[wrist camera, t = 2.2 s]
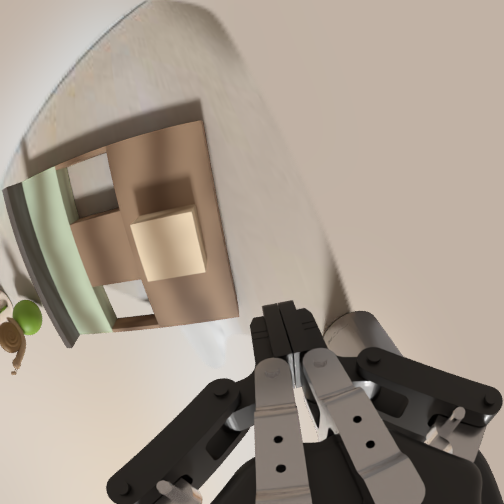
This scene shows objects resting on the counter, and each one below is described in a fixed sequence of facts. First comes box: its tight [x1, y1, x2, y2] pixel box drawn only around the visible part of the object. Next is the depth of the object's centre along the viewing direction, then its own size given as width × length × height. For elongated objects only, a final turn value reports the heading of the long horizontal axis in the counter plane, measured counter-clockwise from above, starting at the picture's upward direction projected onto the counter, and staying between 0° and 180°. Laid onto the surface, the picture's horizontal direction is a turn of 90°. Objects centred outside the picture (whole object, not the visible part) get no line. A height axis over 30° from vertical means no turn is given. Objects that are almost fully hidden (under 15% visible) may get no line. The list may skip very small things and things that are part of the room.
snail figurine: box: [0, 300, 42, 375], centre depth 26 cm, size 5×6×12 cm
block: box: [130, 204, 207, 282], centre depth 26 cm, size 6×6×3 cm
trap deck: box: [2, 120, 239, 348], centre depth 27 cm, size 24×22×6 cm
